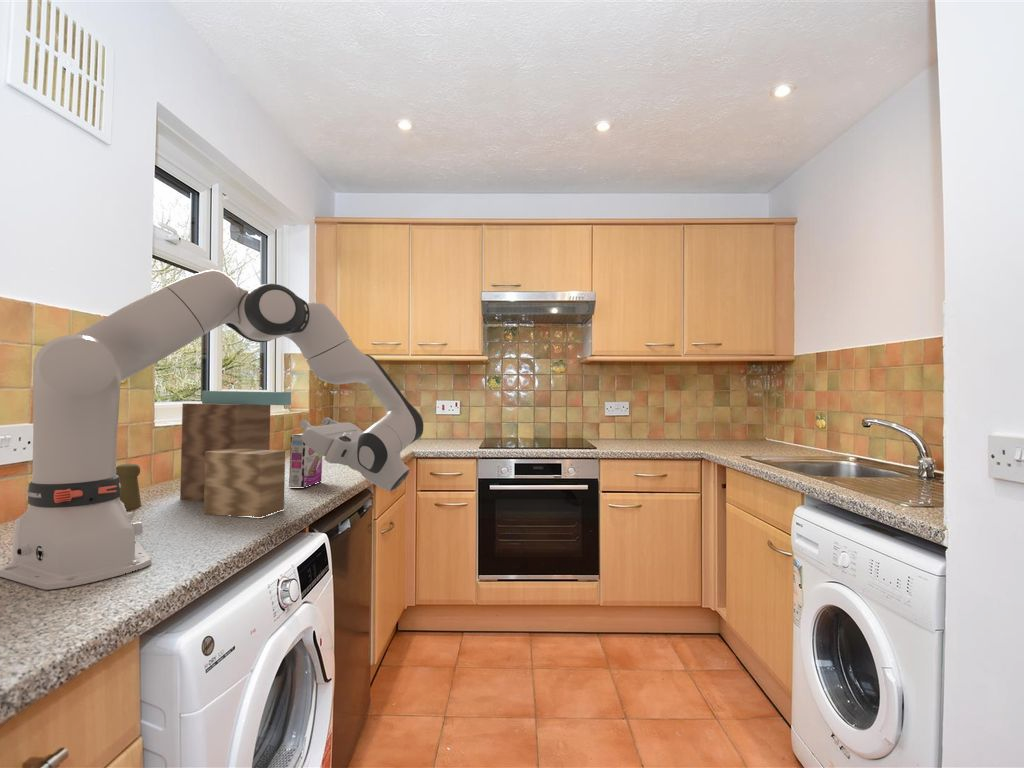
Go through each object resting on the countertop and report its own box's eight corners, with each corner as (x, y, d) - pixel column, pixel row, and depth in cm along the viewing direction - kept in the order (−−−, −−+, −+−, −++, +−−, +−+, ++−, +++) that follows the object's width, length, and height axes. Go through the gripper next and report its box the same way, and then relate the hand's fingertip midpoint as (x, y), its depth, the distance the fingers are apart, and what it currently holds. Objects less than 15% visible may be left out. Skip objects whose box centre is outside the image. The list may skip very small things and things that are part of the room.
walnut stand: (268, 494, 141) (270, 403, 142) (235, 503, 130) (238, 404, 130) (216, 490, 145) (218, 402, 146) (180, 499, 134) (182, 403, 134)
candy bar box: (303, 489, 149) (304, 435, 149) (288, 488, 150) (289, 434, 150) (322, 482, 160) (323, 432, 160) (308, 482, 161) (309, 431, 161)
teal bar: (290, 404, 135) (291, 392, 135) (282, 405, 132) (282, 392, 132) (212, 403, 141) (212, 390, 141) (201, 403, 138) (202, 390, 138)
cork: (115, 512, 119) (116, 466, 119) (107, 508, 123) (108, 464, 123) (144, 507, 124) (146, 464, 124) (136, 504, 128) (138, 461, 128)
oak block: (283, 511, 123) (285, 450, 123) (260, 519, 115) (261, 454, 115) (230, 506, 126) (231, 448, 127) (203, 514, 119) (205, 451, 119)
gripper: (378, 434, 138) (340, 408, 141) (336, 442, 119) (293, 412, 121) (368, 453, 139) (330, 427, 142) (324, 464, 119) (282, 434, 122)
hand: (313, 420), depth 132 cm, fingers open, 8 cm apart
